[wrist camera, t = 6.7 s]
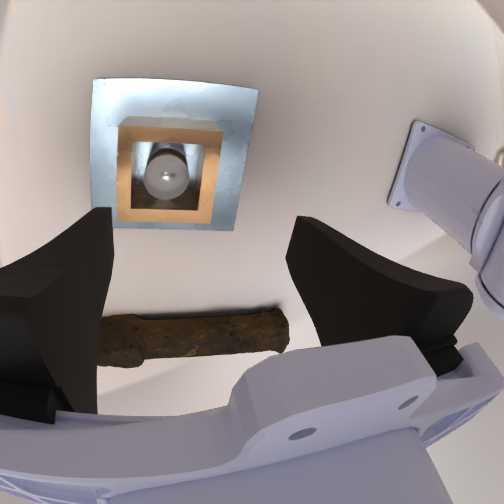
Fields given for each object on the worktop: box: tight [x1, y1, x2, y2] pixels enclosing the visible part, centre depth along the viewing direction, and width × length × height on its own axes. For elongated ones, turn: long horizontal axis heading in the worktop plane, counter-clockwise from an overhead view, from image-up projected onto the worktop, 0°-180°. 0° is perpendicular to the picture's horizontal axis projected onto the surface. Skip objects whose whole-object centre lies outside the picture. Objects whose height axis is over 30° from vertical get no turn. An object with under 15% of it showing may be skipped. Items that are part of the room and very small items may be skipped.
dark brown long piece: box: [97, 308, 290, 368], centre depth 25 cm, size 19×4×5 cm, turn 79°
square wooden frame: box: [116, 116, 224, 224], centre depth 17 cm, size 5×5×3 cm
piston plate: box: [90, 78, 259, 231], centre depth 17 cm, size 10×10×4 cm
